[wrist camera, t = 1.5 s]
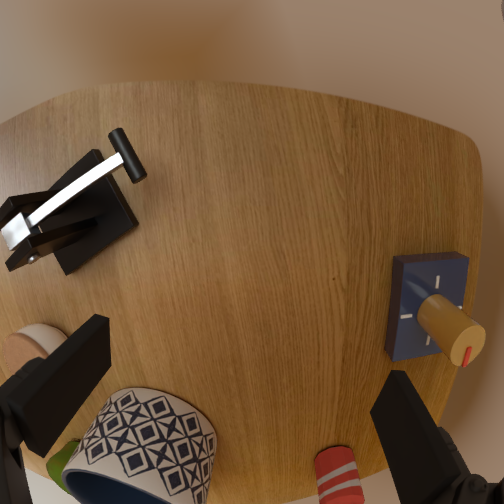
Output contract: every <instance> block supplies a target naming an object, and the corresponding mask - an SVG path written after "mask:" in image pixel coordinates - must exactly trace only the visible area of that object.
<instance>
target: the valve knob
mask: <svg viewBox="0 0 504 504" xmlns="http://www.w3.org/2000/svg"><path fill="white" fill-rule="evenodd" d="M417 321H418V324H419V325H420V327H421V328H422V329H423V330H424V331H425V332H426V333H427V334H428V336H429V337H430V338H431V339H432V340H433V341H434V342H435V343H436V345H437V346H438V347H439V348H440V349H441V350H442V351H443V353H444V354H445V355H446V356H447V357H448V358H449V360H450V361H451V362H452V363H453V364H454V365H456V366H462V367H466V366H467V364H468V363H469V362H471V361H472V360H473V359H475V358H476V356H477V355H478V354H479V353H480V351H481V350H482V348H483V345H484V343H485V338H486V335H485V330H484V328H483V327H482V326H480V324H478V323H477V322H476V321H475V320H473V319H472V318H471V317H470V316H469V315H467V314H466V313H465V312H464V311H462V310H461V309H460V308H459V307H457V306H456V305H455V304H454V303H452V302H451V301H450V300H449V299H447V298H446V297H445V296H443V295H441V294H434V295H431V296H430V297H428V298H427V299H426V300H425V301H424V302H423V303H422V304H421V306H420V308H419V310H418V314H417Z"/></svg>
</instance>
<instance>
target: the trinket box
mask: <svg viewBox="0 0 504 504" xmlns="http://www.w3.org/2000/svg"><path fill="white" fill-rule="evenodd" d="M66 339H67V336H66V335H65V334H64V333H63V332H62V331H60V330H59V329H57V328H55V327H51V326H49V325H46V324H41V323H35V324H30V325H27V326H25V327H23V328H21V329H19V330H17V331H16V332H14V333H12V334H10V335H9V336H8V337H7V338H6V339H5V341H4V344H3V353H4V358H5V361H6V364H7V366H8V368H9V370H10V372H11V374H12V375H13V374H14V375H15V372H17V371H18V370H19V369H21V367H22V366H23V365H24V364H25V363H26V362H28V361H29V360H31V359H34V358H36V357H38V356H39V357H41V358H44V359H46V358H47V357H48V356H49V355H50V354H51V353H52V352H53V351H54V350H55V349H57V348H58V347H59V346H60V345H61V344H62V343H63V342H64V341H65V340H66Z"/></svg>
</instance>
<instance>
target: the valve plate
mask: <svg viewBox="0 0 504 504" xmlns="http://www.w3.org/2000/svg"><path fill="white" fill-rule="evenodd" d="M468 264H469V257H466V256H464V255H462V254H460V253H458V252H456V251H455V252H442V253H430V254H417V255H403V256H393V273H392V287H391V299H390V309H389V318H388V327H387V335H386V342H385V351H386V352H387V354H388V356H389V357H390V359H391V361H392V362H394V361H400V360H406V359H411V358H416V357H421V356H426V355H431V354H435V353H440V352H443V351H442V350H441V349H440V348H439V347H438V346H437V345H436V343H435V342H434V341H433V340H432V339H431V338H430V337H429V336H428V334H427V333H426V332H425V331H424V330H423V329H422V328H421V327H420V325H419V324H418V321H417V314H418V310H419V308H420V306H421V304H422V303H423V302H424V301H425V300H426V299H427V298H428V297H430V296H431V295H434V294H441V295H443V296H445V297H446V298H447V299H449V300H450V301H451V302H452V303H454V304H455V305H456V306H457V307H459V308H460V309H461V310H462V305H463V300H464V294H465V287H466V280H467V273H468Z"/></svg>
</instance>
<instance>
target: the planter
mask: <svg viewBox="0 0 504 504" xmlns="http://www.w3.org/2000/svg"><path fill="white" fill-rule="evenodd" d="M216 448H217V437H216V433H215V431H214V429H213V427H212V425H211V424H210V422H209V421H208V420H207V419H206V418H205V417H204V416H203V415H202V414H201V413H200V412H199V411H198V410H196V409H195V408H194V407H192V406H191V405H189V404H188V403H186V402H184V401H182V400H180V399H179V398H176V397H174V396H172V395H170V394H167V393H164V392H161V391H157V390H152V389H146V388H128V389H123V390H120V391H117V392H116V393H114V394H112V395H111V396H110V397H109V398H108V400H107V401H106V403H105V404H104V406H103V407H102V409H101V410H100V412H99V413H98V415H97V416H96V418H95V420H94V421H93V423H92V424H91V426H90V427H89V429H88V430H87V432H86V434H85V435H84V437H83V438H82V440H81V442H80V443H79V445H78V446H77V448H76V450H75V451H74V453H73V455H72V456H71V458H70V459H69V461H68V463H67V465H66V466H65V468H64V470H63V472H62V474H61V476H62V481H63V484H64V485H65V487H66V489H67V490H68V491H69V492H70V494H71V495H72V496H73V497H74V498H75V499H76V500H78V501H79V502H80V503H81V504H206V502H207V497H208V492H209V486H210V481H211V475H212V470H213V465H214V459H215V454H216Z"/></svg>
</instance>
